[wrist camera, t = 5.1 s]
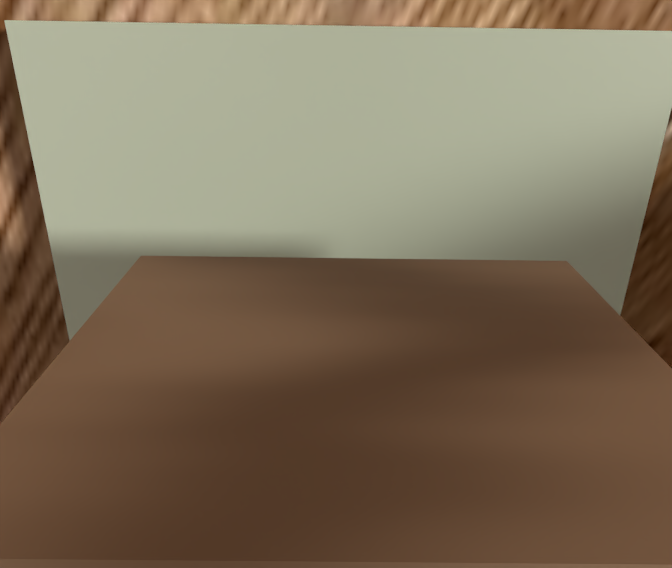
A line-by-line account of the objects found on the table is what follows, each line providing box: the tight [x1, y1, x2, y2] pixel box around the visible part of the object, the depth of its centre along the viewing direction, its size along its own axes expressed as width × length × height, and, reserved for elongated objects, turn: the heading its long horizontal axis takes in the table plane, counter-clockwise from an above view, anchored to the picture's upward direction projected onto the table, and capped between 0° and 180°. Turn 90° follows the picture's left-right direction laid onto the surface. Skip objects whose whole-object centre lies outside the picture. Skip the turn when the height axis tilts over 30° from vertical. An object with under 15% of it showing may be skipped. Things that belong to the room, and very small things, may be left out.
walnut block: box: [0, 256, 672, 568], centre depth 7 cm, size 6×6×5 cm
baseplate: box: [4, 20, 672, 341], centre depth 13 cm, size 12×12×1 cm
